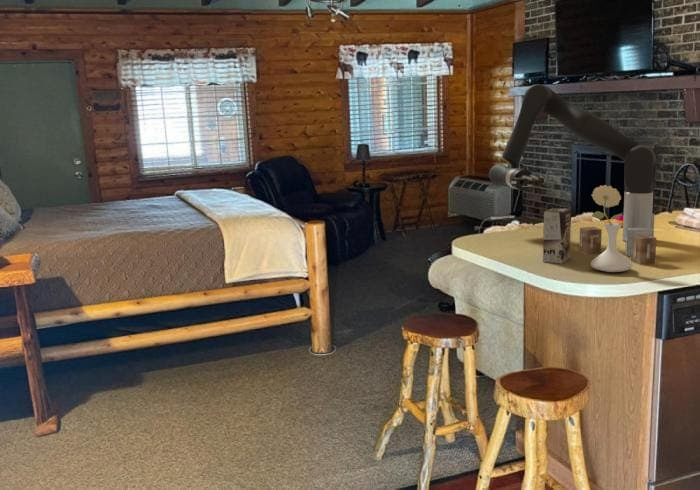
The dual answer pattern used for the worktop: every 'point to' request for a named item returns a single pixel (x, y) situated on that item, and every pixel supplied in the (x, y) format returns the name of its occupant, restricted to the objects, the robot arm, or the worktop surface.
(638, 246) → the walnut block one
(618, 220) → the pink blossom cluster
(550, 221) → the coffee box
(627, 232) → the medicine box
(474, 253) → the worktop surface
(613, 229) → the flower in vase
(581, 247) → the walnut block seven
